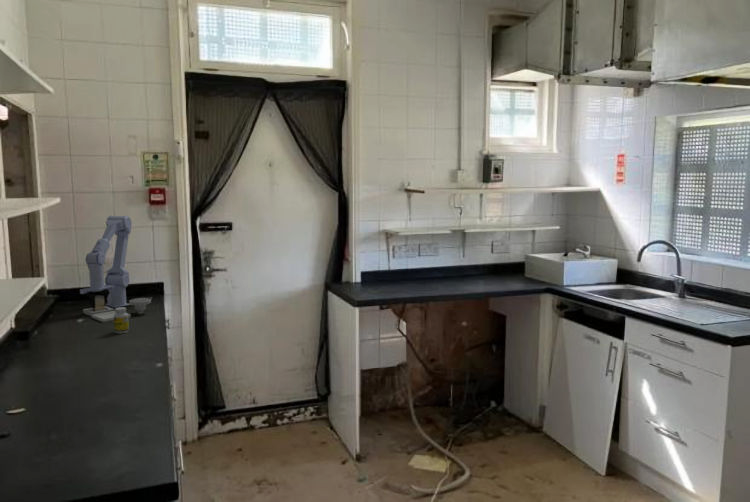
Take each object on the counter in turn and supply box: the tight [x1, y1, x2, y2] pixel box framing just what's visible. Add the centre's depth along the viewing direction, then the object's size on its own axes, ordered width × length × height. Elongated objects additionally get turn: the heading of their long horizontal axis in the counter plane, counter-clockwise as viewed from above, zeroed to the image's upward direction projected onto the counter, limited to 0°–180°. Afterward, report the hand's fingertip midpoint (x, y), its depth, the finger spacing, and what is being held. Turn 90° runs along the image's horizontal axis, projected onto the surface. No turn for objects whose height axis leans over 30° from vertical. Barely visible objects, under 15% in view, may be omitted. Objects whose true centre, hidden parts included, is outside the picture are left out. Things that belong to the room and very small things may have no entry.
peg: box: [91, 294, 106, 312], centre depth 262 cm, size 4×4×8 cm
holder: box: [82, 305, 115, 318], centre depth 262 cm, size 10×10×2 cm
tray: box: [91, 310, 131, 324], centre depth 253 cm, size 12×12×2 cm
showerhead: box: [128, 297, 153, 315], centre depth 261 cm, size 9×7×10 cm
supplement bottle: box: [113, 306, 130, 334], centre depth 230 cm, size 5×5×10 cm
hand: (98, 306), depth 262 cm, fingers closed on peg, 4 cm apart
